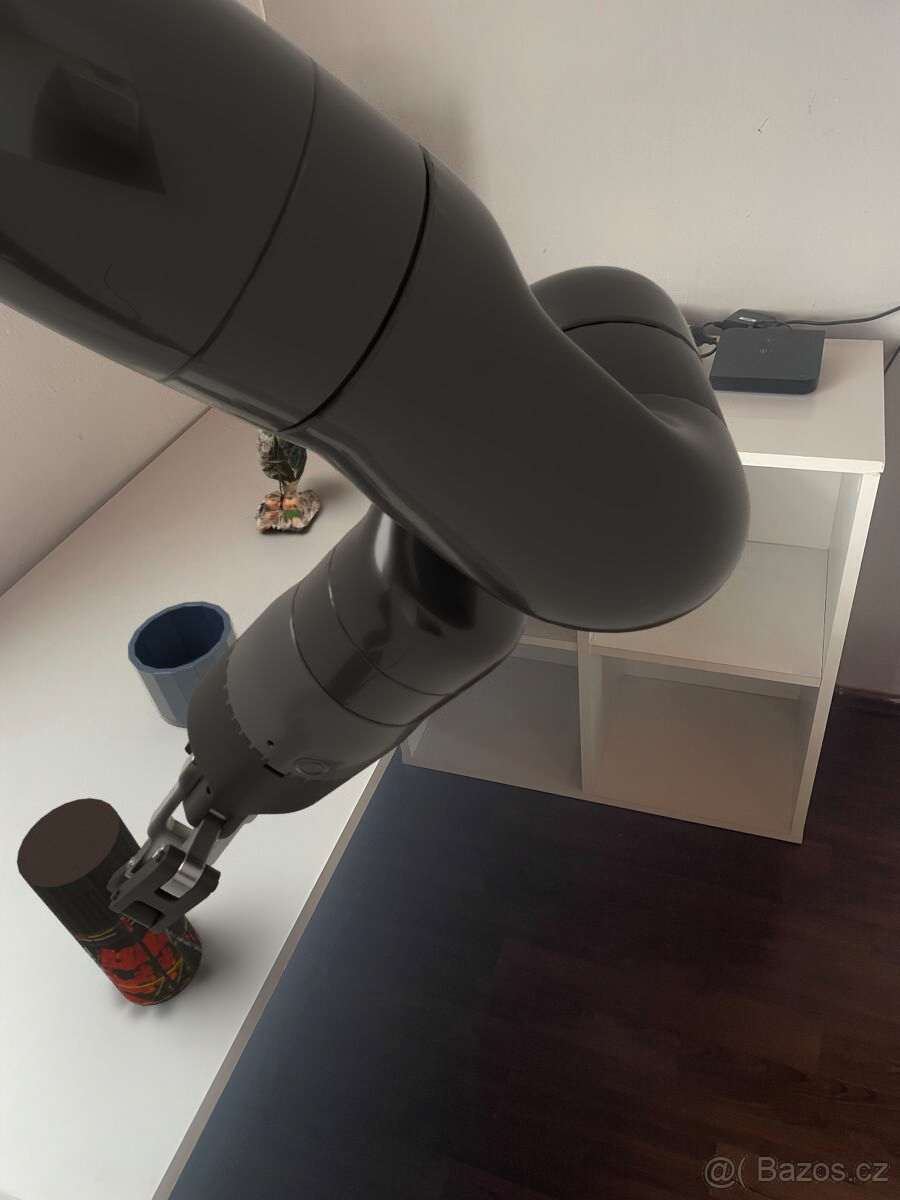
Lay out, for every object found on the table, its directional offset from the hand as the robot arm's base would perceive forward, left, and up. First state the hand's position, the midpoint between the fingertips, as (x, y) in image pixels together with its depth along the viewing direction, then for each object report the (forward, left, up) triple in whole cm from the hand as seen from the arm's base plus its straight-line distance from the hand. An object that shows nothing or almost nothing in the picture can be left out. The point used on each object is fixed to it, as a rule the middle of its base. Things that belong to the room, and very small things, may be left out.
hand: (166, 820), depth 46 cm
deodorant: (-2, +8, -19) cm, 21 cm away
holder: (+20, +22, -19) cm, 35 cm away
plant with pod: (+47, +31, -19) cm, 59 cm away
